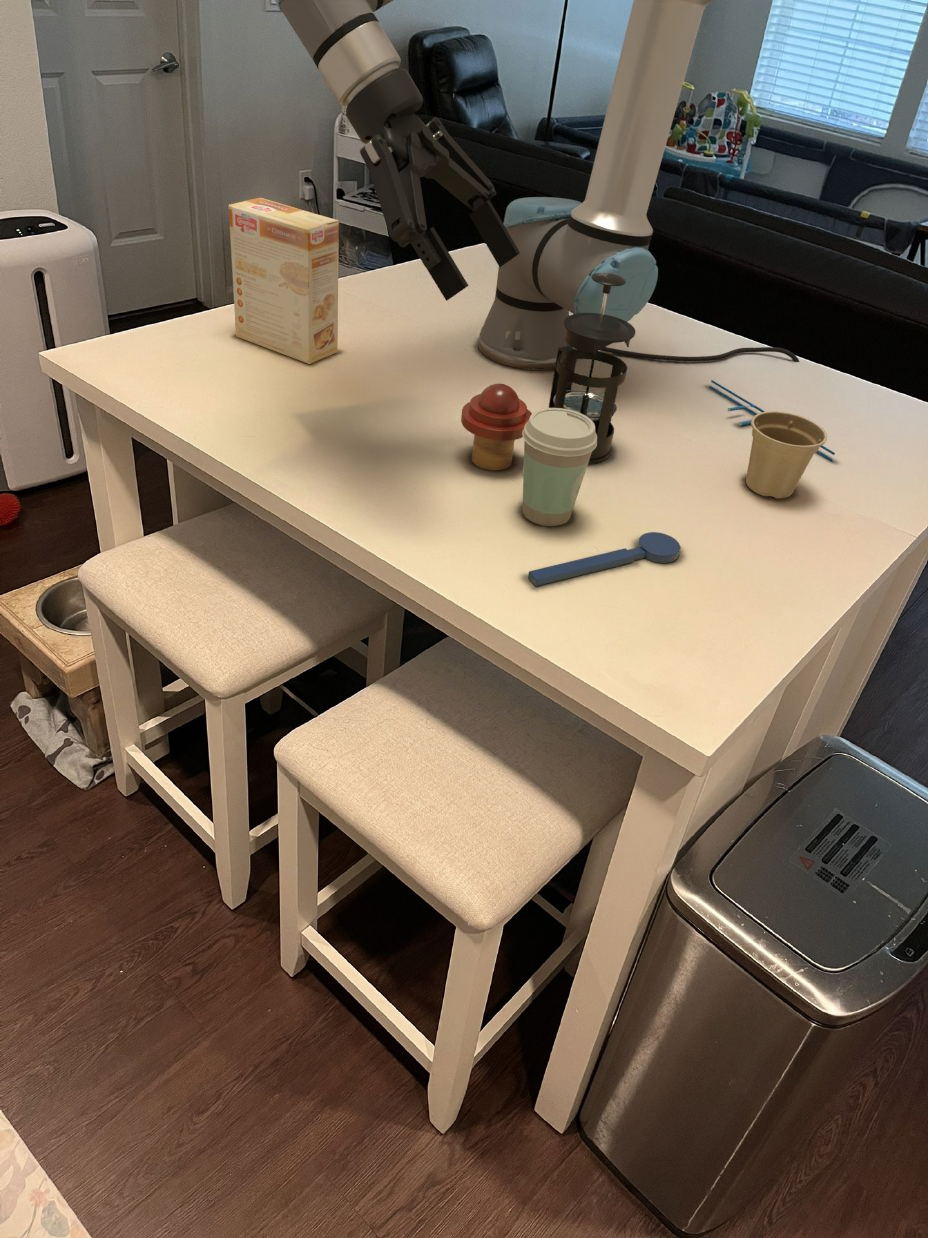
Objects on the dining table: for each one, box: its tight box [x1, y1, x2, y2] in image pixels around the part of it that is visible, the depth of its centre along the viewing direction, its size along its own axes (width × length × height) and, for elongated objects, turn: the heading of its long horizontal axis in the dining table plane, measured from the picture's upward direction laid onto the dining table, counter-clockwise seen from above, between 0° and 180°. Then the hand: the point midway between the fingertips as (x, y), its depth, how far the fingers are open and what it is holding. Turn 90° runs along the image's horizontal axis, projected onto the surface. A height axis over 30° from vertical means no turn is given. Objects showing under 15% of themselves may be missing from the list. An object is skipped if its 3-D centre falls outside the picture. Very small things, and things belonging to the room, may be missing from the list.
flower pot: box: [745, 410, 828, 499], centre depth 119 cm, size 9×9×9 cm
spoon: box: [527, 531, 681, 587], centre depth 103 cm, size 20×5×1 cm, turn 118°
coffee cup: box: [522, 407, 597, 527], centre depth 107 cm, size 8×9×12 cm
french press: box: [548, 273, 636, 465], centre depth 118 cm, size 12×9×23 cm
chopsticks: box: [708, 379, 836, 462], centre depth 136 cm, size 1×25×5 cm
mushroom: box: [460, 383, 533, 471], centre depth 117 cm, size 9×9×10 cm
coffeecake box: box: [228, 197, 340, 365], centre depth 136 cm, size 15×7×20 cm, turn 58°
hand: (485, 276), depth 99 cm, fingers open, 13 cm apart
